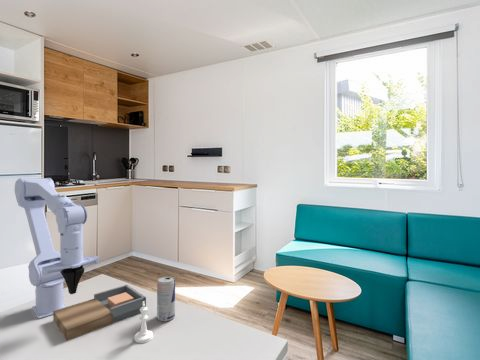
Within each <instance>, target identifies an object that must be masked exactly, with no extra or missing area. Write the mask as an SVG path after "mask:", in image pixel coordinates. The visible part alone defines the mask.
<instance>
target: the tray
mask: <svg viewBox="0 0 480 360" xmlns="http://www.w3.org/2000/svg"><path fill="white" fill-rule="evenodd" d="M125 292H126V293H128V294H129V295H130V296H132V297H133V298H134V300H133V301H130V302H127V303H124V304H121V305H118V306H115V307H111V306H110V305H108V298H109V297H112V296H115V295H118V294H121V293H125ZM93 299H97V300H98V301H99V302H101V303H102V304H103V305H104V306H105V307H106V308H107V309H108V310H110V313H111V315H112V314H113V315H112V316H113V318H111V319H113V322H111V323H113V324H115V323H117V322H120V321H124V320H126V319H128V318H132V317H133V316H136V315H139V314H141V312H140V308H142V307H143V305H142V303H143V301H145V307H147V296H145V295H143V294H142V293H141V292H139V291H137V290H135V289H134V288H133V287H132V286H129V285H128V284H124V285H121V286H118V287H115V288H111V289H107V290H104V291H100V292H97V293H94V294H93ZM112 316H111V317H112ZM111 321H112V320H111Z"/></svg>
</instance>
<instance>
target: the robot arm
mask: <svg viewBox="0 0 480 360" xmlns="http://www.w3.org/2000/svg"><path fill="white" fill-rule="evenodd" d="M55 187H56V186H55V183H54V180H53V179H52V178H51V177H46V178H44V177H43V178H21V177H20V178H17V180H16V181H15V183H14V194H15V199H16V203H17V205H18V206H19V207H20V208H23V209H24V212H25V215H26V218H27V223H28V227H29V231H30V234H31V237H32V243H33V246H34V249H35V255H36V256H35V257H33V259H32V260H30V262H29V264H28V266H27V268H28V280H29V282H30V284H31V285H32V286H34V287H35V305H33V306H32V307H31V309H32V311H33V312H34V314H35V315H36V317H37V319H42V318H45V317H48V316H53V311H55V310H58V309H62V308H65V307H67V306H66V304H65V301H64V282H65V283H66V286H67V290H68V294H70V295H74V294H76V293H77V290H78V286H79V283H80V280H81V278H82V277H83V274H84V273H85V268H84V267H85V266H90V265H97V264H100V257H99V256H98V255H94V256H86V257H84V224H86V222H87V220H88V212H87V211H88V210H87V209H86V207H85V206H84V205H83V204H75V203H74V202H73V201H72V200H71V199H70V198H69V197H67V196H66V195H65V193H59V192H57V190H56V189H55ZM45 206H46V207H47V208H48V209H49V210H50V211H51V213H52V214H53V215H54V216H55V221H56V224H57V231H58V233H59V234H60V235H59V236H60V237H59V238H60V239H59V243H60V245H59V246H60V252H59V251H57V250H55V248H54V247H55V246H54V244H53V240H52V235H51V232H50V229H49V228H50V227H49V225H48V220H47V219H46V218H47V217H46V215H45V210H44V207H45Z"/></svg>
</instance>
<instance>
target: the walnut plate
mask: <svg viewBox="0 0 480 360" xmlns="http://www.w3.org/2000/svg"><path fill="white" fill-rule="evenodd" d="M112 315H113V314H112ZM112 315H111V313H110V310H108V309H107V308H106V307H105V306H104V305H103V304H102V303H101V302H99V301H98V300H97V299H94V298H91V299H88V300H85V301H82V302H78V303H76V304H72V305H69V306H66V307H65V308H62V309H58V310H55V311H53V314H52V316H53V319H52V320H53V322H54V324H55V326H56V327H57V328H58V330H59V331H60V332H61V333H62V335H63V336H64V338H65V340H66V341H67V342H68V341H71V340H73V339H75V338H78V337H81V336H83V335H86V334H89V333H91V332H93V331H97V330H99V329H102V328H105V327H107V326H110V325H113V324H114V323H111V322H113V319H111V318H113V316H112ZM111 316H112V317H111ZM111 320H112V321H111Z"/></svg>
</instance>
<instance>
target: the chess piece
mask: <svg viewBox="0 0 480 360" xmlns="http://www.w3.org/2000/svg"><path fill="white" fill-rule="evenodd" d="M142 305H143V307H142V308H140V312H141V313H140V316H139V320H141V327H140V331H137V332H136V334H134V338H133V341H134V342H135V343H137V344H145V343H148V342H150V341H151V340H152V339H153V338H154V332H153V331H152V330H148V327H147V321H146V320H147V319H148V318H149V315H147V312H148V306H146V307H145V301H143V303H142Z"/></svg>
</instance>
